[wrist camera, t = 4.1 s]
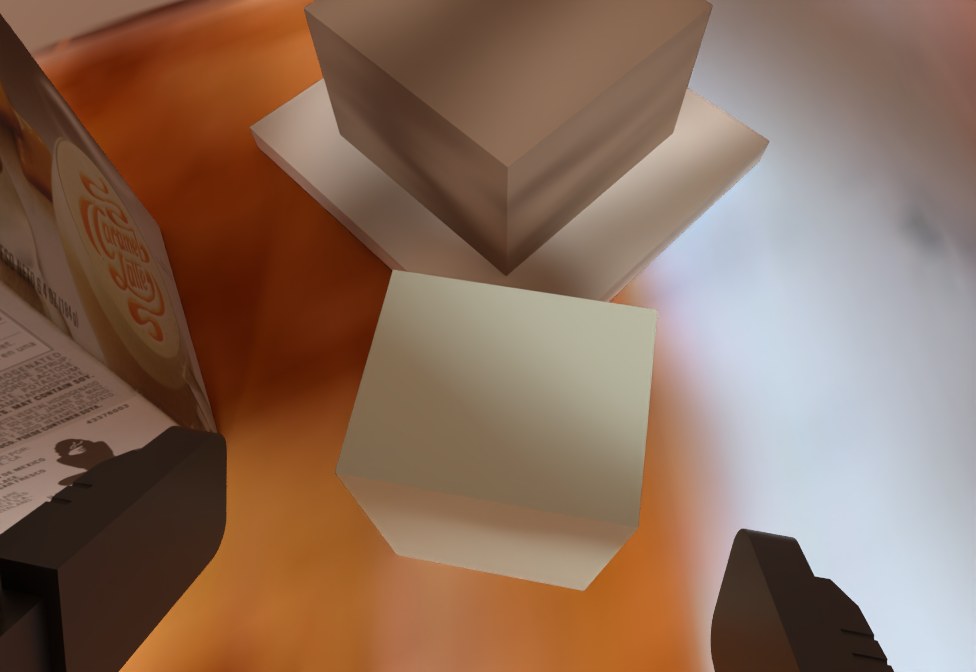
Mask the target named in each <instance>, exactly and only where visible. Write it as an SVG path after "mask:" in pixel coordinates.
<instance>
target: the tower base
mask: <svg viewBox="0 0 976 672" xmlns="http://www.w3.org/2000/svg"><path fill="white" fill-rule="evenodd" d="M712 6H713V5H712V4H710V3H709V2H707V1H705V0H316V1H314V2H312V3H311V4H309V5H307V6H306V7H304V12H305V15H306V18H307V22H308V25H309V29H310V32H311V36H312V39H313V43H314V46H315V50H316V53H317V57H318V60H319V63H320V67H321V70H322V74H323V77H324V78H322V79H321V80H319V81H318V82H316V83H315V84H313V85H312V86H310V87H309V88H307V89H306V90H304V91H303V92H301V93H300V94H298V95H297V96H295V97H294V98H292V99H291V100H289V101H288V102H286V103H285V104H283V105H282V106H280V107H279V108H277V109H276V110H274V111H273V112H271V113H270V114H268V115H267V116H265V117H264V118H262V119H261V120H259V121H258V122H256V123H255V124H253V125H252V126H250V127H249V128H250V130H251V133H252V135H253V137H254V139H255V142H256V144H257V146H258V148H259V149H261V150H262V151H263V152H264V153H265V154H266V155H267V156H268V157H269V158H270V159H271V160H273V161H274V162H275V163H276V164H277V165H278V166H279V167H280V168H281V169H282V170H283V171H285V172H286V173H287V174H288V175H289V176H290V177H291V178H292V179H293V180H294V181H295V182H297V183H298V184H299V185H300V186H301V187H302V188H303V189H304V190H305V191H306V192H307V193H308V194H310V195H311V196H312V197H313V198H314V199H315V200H316V201H317V202H318V203H319V204H320V205H322V206H323V207H324V208H325V209H326V210H327V211H328V212H329V213H330V214H331V215H332V216H334V217H335V218H336V219H337V220H338V221H339V222H340V223H341V224H342V225H343V226H344V227H346V228H347V229H348V230H349V231H350V232H351V233H352V234H353V235H354V236H355V237H356V238H358V239H359V240H360V241H361V242H362V243H363V244H364V245H365V246H366V247H367V248H368V249H369V250H371V251H372V252H373V253H374V254H375V255H376V256H377V257H378V258H379V259H380V260H381V261H383V262H384V263H385V264H386V265H387V266H388V267H389V268H390V269H391V270H392V271H393V270H399V271H405V272H412V273H419V274H425V275H432V276H438V277H445V278H451V279H458V280H465V281H471V282H478V283H484V284H491V285H497V286H504V287H511V288H517V289H524V290H530V291H537V292H543V293H550V294H557V295H563V296H570V297H576V298H583V299H589V300H596V301H603V302H609V301H610V300H611V299H612V298H613V297H614V296H615V295H616V294H617V293H619V292H620V291H621V290H622V289H623V288H624V287H625V286H626V285H627V284H628V283H629V282H630V281H631V280H632V279H634V278H635V277H636V276H637V275H638V274H639V273H640V272H641V271H642V270H643V269H644V268H645V267H646V266H648V265H649V264H650V263H651V262H652V261H653V260H654V259H655V258H656V257H657V256H658V255H659V254H660V253H661V252H663V251H664V250H665V249H666V248H667V247H668V246H669V245H670V244H671V243H672V242H673V241H674V240H675V239H676V238H678V237H679V236H680V235H681V234H682V233H683V232H684V231H685V230H686V229H687V228H688V227H689V226H690V225H692V224H693V223H694V222H695V221H696V220H697V219H698V218H699V217H700V216H701V215H702V214H703V213H704V212H705V211H707V210H708V209H709V208H710V207H711V206H712V205H713V204H714V203H715V202H716V201H717V200H718V199H719V198H720V197H722V196H723V195H724V194H725V193H726V192H727V191H728V190H729V189H730V188H731V187H732V186H733V185H734V184H735V183H737V182H738V181H739V180H740V179H741V178H742V177H743V176H744V175H745V174H746V173H747V172H748V171H749V170H751V169H752V168H753V167H754V166H755V165H756V164H757V163H758V162H759V161H760V159H761V157H762V155H763V153H764V151H765V149H766V147H767V145H768V143H769V140H767V139H766V138H764V137H763V136H761V135H760V134H758V133H756V132H755V131H753V130H752V129H750V128H749V127H747V126H746V125H744V124H743V123H741V122H740V121H738V120H736V119H735V118H733V117H732V116H730V115H729V114H727V113H726V112H724V111H723V110H721V109H720V108H718V107H717V106H715V105H713V104H712V103H710V102H709V101H707V100H706V99H704V98H703V97H701V96H700V95H698V94H697V93H695V92H693V91H692V90H690V89H689V88H687V87H688V83H689V80H690V77H691V74H692V71H693V67H694V64H695V61H696V58H697V54H698V51H699V48H700V45H701V42H702V38H703V35H704V32H705V29H706V25H707V22H708V19H709V16H710V13H711V9H712Z"/></svg>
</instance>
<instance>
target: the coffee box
mask: <svg viewBox="0 0 976 672" xmlns="http://www.w3.org/2000/svg"><path fill="white" fill-rule="evenodd" d="M171 426H181V427H187V428H192V429H198V430H203V431H209V432H215V433H217V429H216V425H215V421H214V417H213V413H212V410H211V406H210V403H209V399H208V396H207V392H206V389H205V385H204V382H203V378H202V375H201V371H200V368H199V364H198V361H197V357H196V353H195V350H194V346H193V343H192V339H191V336H190V332H189V329H188V325H187V322H186V318H185V315H184V311H183V308H182V304H181V301H180V297H179V294H178V290H177V287H176V283H175V280H174V276H173V273H172V269H171V266H170V262H169V259H168V255H167V252H166V248H165V245H164V242H163V238H162V235H161V231H160V228H159V226H158V224H157V223H156V221H155V220H154V219H153V217H152V216H151V215H150V214H149V212H148V211H147V210H146V208H145V207H144V206H143V204H142V203H141V202H140V200H139V199H138V198H137V196H136V195H135V194H134V192H133V191H132V190H131V189H130V187H129V186H128V184H127V183H126V182H125V180H124V179H123V177H122V176H121V175H120V173H119V172H118V171H117V169H116V168H115V166H114V165H113V164H112V163H111V162H110V160H109V159H108V157H107V156H106V154H105V153H104V152H103V150H102V149H101V148H100V147H99V145H98V144H97V143H96V141H95V140H94V139H93V137H92V136H91V135H90V133H89V132H88V131H87V130H86V128H85V127H84V126H83V124H82V123H81V122H80V120H79V119H78V117H77V116H76V115H75V113H74V112H73V111H72V109H71V108H70V106H69V105H68V104H67V102H66V101H65V100H64V99H63V97H62V96H61V95H60V93H59V92H58V91H57V89H56V88H55V87H54V85H53V84H52V83H51V81H50V80H49V79H48V77H47V76H46V75H45V73H44V72H43V71H42V69H41V68H40V67H39V65H38V64H37V63H36V61H35V60H34V59H33V57H32V56H31V54H30V53H29V52H28V50H27V49H26V47H25V46H24V44H23V43H22V42H21V41H20V39H19V38H18V37H17V35H16V34H15V33H14V31H13V30H12V28H11V27H10V26H9V24H8V23H7V22H6V21H5V20H4V18H3V17H2V15H1V14H0V534H2V533H3V532H4V531H6V530H7V529H8V528H10V527H11V526H13V525H14V524H15V523H17V522H18V521H20V520H21V519H22V518H24V517H25V516H26V515H28V514H29V513H31V512H32V511H33V510H35V509H36V508H37V507H39V506H40V505H42V504H43V503H44V502H46V501H48V502H50V501H51V499H52V497H53V496H54V495H55V494H57V493H58V492H60V491H61V490H62V489H64V488H65V487H66V486H68V485H69V486H72V484H73V481H75V480H76V479H77V478H79V477H80V476H82V475H83V474H84V473H86V472H87V471H89V470H90V469H91V468H93V467H94V466H95V465H97V464H98V463H100V462H103V461H106V460H108V459H111V458H113V457H116V456H118V455H121V454H123V453H126V452H128V451H131V450H136V451H139V450H140V449H141V448H143V447H144V446H145V445H147V444H148V443H149V442H150V441H152V440H153V439H154V438H156V437H157V436H158V435H160V434H161V433H162V432H164V431H165V430H166V429H168V428H169V427H171Z"/></svg>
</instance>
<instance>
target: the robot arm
mask: <svg viewBox="0 0 976 672" xmlns="http://www.w3.org/2000/svg"><path fill="white" fill-rule="evenodd" d="M226 473H227V449H226V442H225V439H224V437H223V435H221V434H219V433H215V432H209V431H203V430H198V429H192V428H187V427H181V426H171V427H169V428H168V429H166V430H165V431H164V432H162V433H161V434H160V435H158V436H157V437H156V438H154V439H153V440H152V441H150V442H149V443H148V444H147V445H145V446H144V447H143V448H141V449H140V450H139V451H136V450H131V451H128V452H126V453H123V454H121V455H118V456H116V457H113V458H111V459H108V460H106V461H103V462H100V463H98V464H97V465H95V466H94V467H93V468H91V469H90V470H89V471H87V472H86V473H84V474H83V475H82V476H80V477H79V478H77V479H76V480H75V481H73V484H72V486H69V485H68V486H66V487H65V488H64V489H62V490H61V491H60V492H58V493H57V494H55V495H54V496H53V497H52V499H51V501H50V502H48V501H46V502H44V503H43V504H42V505H40V506H39V507H37V508H36V509H35V510H33V511H32V512H31V513H29V514H28V515H26V516H25V517H24V518H22V519H21V520H20V521H18V522H17V523H15V524H14V525H13V526H11V527H10V528H8V529H7V530H6V531H4V532H3V533H2V534H0V672H119V670H120V669H121V668H122V667H123V666H124V664H125V663H126V662H127V661H128V660H129V658H130V657H131V656H132V655H133V654H134V652H135V651H136V650H137V649H138V648H139V646H140V645H141V644H142V643H143V642H144V640H145V639H146V638H147V637H148V636H149V634H150V633H151V632H152V631H153V630H154V628H155V627H156V626H157V625H158V624H159V622H160V621H161V620H162V619H163V618H164V616H165V615H166V614H167V613H168V612H169V610H170V609H171V608H172V607H173V606H174V604H175V603H176V602H177V601H178V600H179V598H180V597H181V596H182V595H183V594H184V592H185V591H186V590H187V589H188V588H189V586H190V585H191V584H192V583H193V582H194V580H195V579H196V578H197V577H198V576H199V574H200V573H201V572H202V571H203V570H204V568H205V567H206V566H207V565H208V564H209V562H210V561H211V560H212V559H213V557H214V556H215V554H216V552H217V550H218V548H219V546H220V544H221V541H222V538H223V535H224V531H225V525H226ZM711 654H712V661H713V665H714V669H715V672H894V671H893V669H892V667H891V666H889V665H887V658H886V656H885V654H884V652H883V650H882V649H881V647H880V645H879V643H878V641H875V640H874V634H873V632H872V630H871V628H870V627H869V625H868V623H867V621H866V619H865V617H864V616H863V614H862V612H861V610H860V608H859V606H858V605H857V604H855V603H854V602H853V601H852V600H851V599H850V598H849V597H848V596H847V595H846V594H845V593H844V592H843V591H842V590H841V589H840V588H839V587H838V586H837V585H836V584H835V583H834V582H833V581H831V580H830V579H826V578H820V577H815V576H814V574H813V572H812V570H811V568H810V566H809V564H808V562H807V560H806V558H805V556H804V554H803V552H802V550H801V548H800V546H799V544H798V542H797V540H796V539H795V538H793V537H787V536H782V535H776V534H771V533H765V532H759V531H754V530H748V529H740V530H739V531H738V533H737V534H736V537H735V539H734V542H733V545H732V549H731V552H730V556H729V560H728V563H727V567H726V571H725V574H724V578H723V581H722V585H721V589H720V592H719V596H718V599H717V603H716V607H715V610H714V614H713V620H712V627H711Z"/></svg>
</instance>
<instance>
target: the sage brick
mask: <svg viewBox="0 0 976 672" xmlns="http://www.w3.org/2000/svg"><path fill="white" fill-rule="evenodd" d="M657 311H658V310H655V309H649V308H642V307H635V306H629V305H622V304H616V303H609V302H603V301H596V300H589V299H583V298H576V297H570V296H563V295H557V294H550V293H543V292H537V291H530V290H524V289H517V288H511V287H504V286H497V285H491V284H484V283H478V282H471V281H465V280H458V279H451V278H445V277H438V276H432V275H425V274H419V273H412V272H405V271H399V270H393V271H392V275H391V278H390V282H389V285H388V289H387V292H386V296H385V299H384V303H383V306H382V310H381V313H380V317H379V320H378V324H377V327H376V331H375V334H374V338H373V341H372V345H371V348H370V352H369V355H368V358H367V362H366V365H365V369H364V372H363V376H362V379H361V383H360V386H359V390H358V393H357V397H356V400H355V404H354V407H353V411H352V414H351V418H350V421H349V425H348V428H347V432H346V435H345V439H344V442H343V446H342V449H341V452H340V456H339V459H338V463H337V466H336V470H335V474H336V475H337V476H338V478H339V479H340V480H341V482H342V483H343V484H344V486H345V487H346V488H347V490H348V491H349V492H350V494H351V495H352V496H353V498H354V499H355V500H356V502H357V503H358V504H359V506H360V507H361V508H362V510H363V511H364V512H365V513H366V515H367V516H368V517H369V519H370V520H371V521H372V523H373V524H374V525H375V527H376V528H377V529H378V531H379V532H380V533H381V535H382V536H383V537H384V539H385V540H386V541H387V543H388V544H389V545H390V547H391V548H392V549H393V551H394V552H395V553H396V554H397V555H399V556H404V557H409V558H414V559H419V560H425V561H430V562H435V563H440V564H446V565H451V566H456V567H461V568H467V569H472V570H477V571H482V572H488V573H493V574H498V575H503V576H509V577H514V578H519V579H524V580H529V581H535V582H540V583H545V584H550V585H556V586H561V587H566V588H571V589H577V590H582V591H584V590H585V589H586V588H587V587H588V586H589V584H590V583H591V582H592V581H593V580H594V579H595V577H596V576H597V575H598V574H599V573H600V572H601V570H602V569H603V568H604V567H605V566H606V565H607V564H608V562H609V561H610V560H611V559H612V558H613V557H614V555H615V554H616V553H617V552H618V551H619V550H620V548H621V547H622V546H623V545H624V544H625V543H626V542H627V540H628V539H629V538H630V537H631V536H632V535H633V533H634V532H635V531H636V530H637V529H638V526H639V515H640V503H641V492H642V481H643V469H644V458H645V447H646V435H647V424H648V413H649V401H650V390H651V379H652V367H653V356H654V345H655V333H656V322H657Z"/></svg>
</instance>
